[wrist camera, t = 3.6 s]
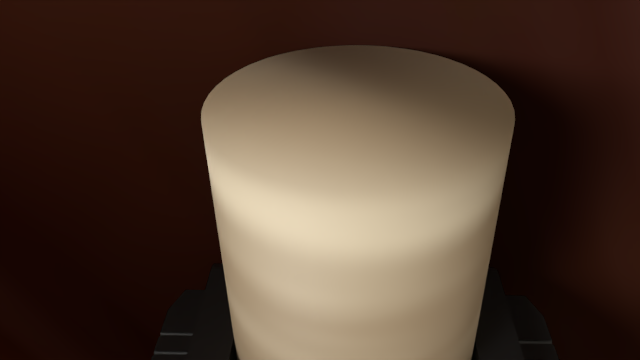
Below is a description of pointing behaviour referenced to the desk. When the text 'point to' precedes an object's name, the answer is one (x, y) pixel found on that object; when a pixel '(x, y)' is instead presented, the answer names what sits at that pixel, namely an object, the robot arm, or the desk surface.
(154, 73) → the desk surface
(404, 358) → the roller
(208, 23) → the desk surface
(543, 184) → the desk surface
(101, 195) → the desk surface
